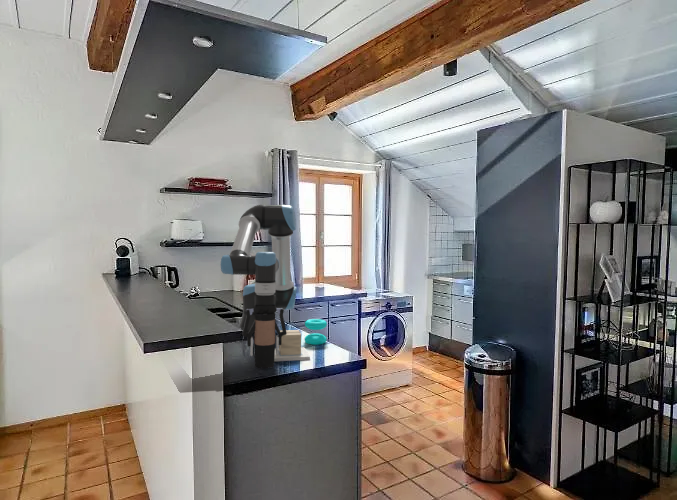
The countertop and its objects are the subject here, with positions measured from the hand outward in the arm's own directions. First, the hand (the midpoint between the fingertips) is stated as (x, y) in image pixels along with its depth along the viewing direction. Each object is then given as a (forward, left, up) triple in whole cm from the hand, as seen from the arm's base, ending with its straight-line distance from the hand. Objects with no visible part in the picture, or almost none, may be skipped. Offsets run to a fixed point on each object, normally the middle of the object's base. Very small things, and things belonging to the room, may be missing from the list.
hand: (264, 354), depth 164 cm
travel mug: (0, 0, -5) cm, 5 cm away
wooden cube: (-12, +11, -3) cm, 17 cm away
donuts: (-31, +25, -5) cm, 40 cm away
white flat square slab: (-12, +11, -4) cm, 17 cm away
